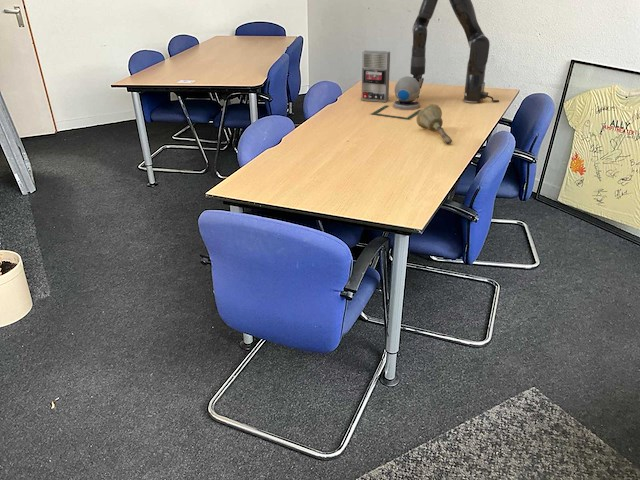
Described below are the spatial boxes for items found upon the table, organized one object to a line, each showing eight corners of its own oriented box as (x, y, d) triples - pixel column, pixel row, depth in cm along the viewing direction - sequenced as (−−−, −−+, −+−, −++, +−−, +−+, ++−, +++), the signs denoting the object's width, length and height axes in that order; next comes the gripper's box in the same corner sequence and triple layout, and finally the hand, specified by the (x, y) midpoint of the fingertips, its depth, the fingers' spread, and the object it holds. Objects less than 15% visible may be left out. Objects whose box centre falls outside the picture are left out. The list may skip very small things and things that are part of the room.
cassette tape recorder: (360, 100, 288) (361, 52, 276) (364, 97, 293) (365, 50, 281) (385, 102, 283) (387, 53, 271) (388, 99, 288) (390, 51, 276)
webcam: (422, 104, 279) (424, 75, 271) (414, 110, 269) (416, 80, 261) (398, 102, 284) (399, 73, 276) (390, 108, 274) (391, 78, 267)
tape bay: (422, 110, 269) (422, 110, 269) (408, 119, 256) (408, 118, 256) (385, 105, 278) (385, 105, 278) (371, 114, 265) (371, 113, 265)
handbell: (428, 131, 246) (450, 158, 227) (410, 119, 240) (431, 146, 221) (445, 111, 241) (469, 137, 223) (428, 98, 235) (451, 123, 216)
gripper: (419, 67, 269) (418, 102, 277) (429, 62, 279) (427, 95, 287) (406, 66, 272) (404, 100, 281) (416, 61, 282) (414, 94, 291)
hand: (416, 98), depth 284 cm, fingers closed
